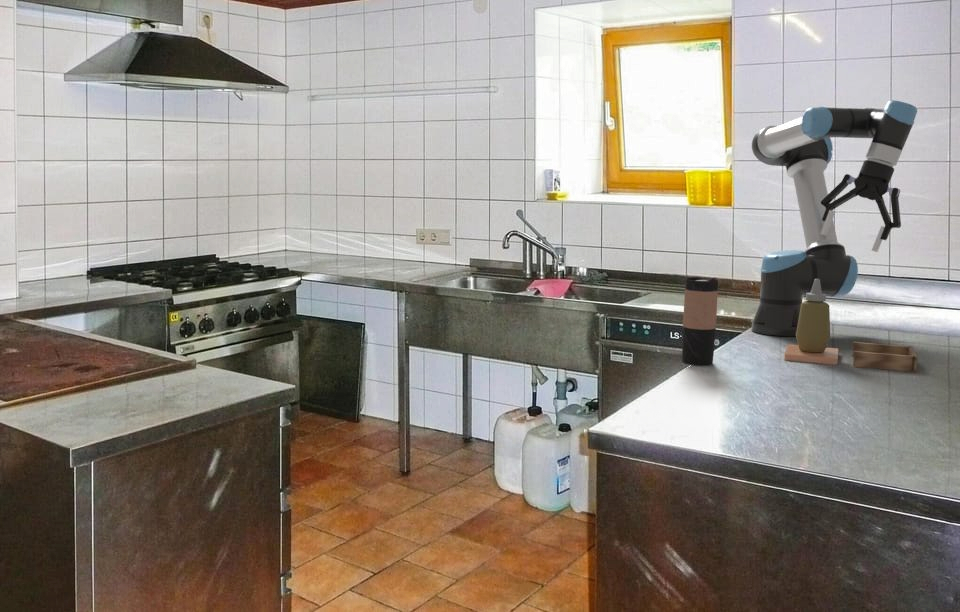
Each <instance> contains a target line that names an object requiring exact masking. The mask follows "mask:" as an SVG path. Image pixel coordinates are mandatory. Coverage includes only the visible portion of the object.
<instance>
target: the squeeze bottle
mask: <svg viewBox="0 0 960 612" xmlns="http://www.w3.org/2000/svg"><path fill="white" fill-rule="evenodd" d="M826 300H827V296H826V294H822V291H821V284H820V279H815V280H814V283H813V286H812V289H811V293H806V296H805V300H804V301H802V304H801V309H800V314H799V320H798V325H797V331H796V336H795V337H796V341H797V345H798V346H799V349H800V350H801V351H805V352H810V353H820V352H824V351H825V349H826V348H828V347H827V346H828V344H829V342H830V339H831V320H830V319H831V317H830V316H831V315H830V314H831V312H830V304H829V303H827V302H826Z"/></svg>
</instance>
